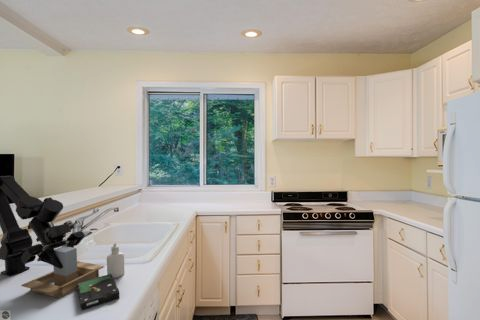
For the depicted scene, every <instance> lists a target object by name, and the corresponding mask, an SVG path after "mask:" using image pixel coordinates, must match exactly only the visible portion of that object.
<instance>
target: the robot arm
mask: <svg viewBox="0 0 480 320" xmlns="http://www.w3.org/2000/svg"><path fill="white" fill-rule="evenodd" d="M7 197H8V198H9V199H10V200H11V202H13V203H14V205H15V206H16V207H15V212H16V214H17V216H18V217H19V218H20V219H21V220H22V221H23V220H28V219H29V220H30V221H29V222H28V225H27V228H21V227H20V225H19V223H18V220H17V218H16V216H15V214H14V212H13V209H12V207H11V205H10V202H9V200H8V198H7ZM63 209H64V205H63V203H62V202H61V201H59V200H56V199H53V198H52V197H51V196H50V197H46V198H44V199H43V200H41V199H39V198H38V197H35V196H31V195H29V193H28V192H27V191H26V190H25V189H24V188H23V187H22V186H21V185H20V184H19V183H18V182H17V180H16V179H15V177H14V176H13V175H1V176H0V229H1V231H2V237H1V240H0V260H1V261H4V269H5V270H2V271H0V274H2V275H5V276H9V277H10V276H12V277H13V276H14V275H17V274H20V273H22V272H24V271H27V270H29V269H30V268H31V267H30V266H26V265H27V264H29V263H32V262H34V261H35V260H36V258H37V257H38V258H37V262H43V263H46V264H47V265H48V264H49V265H51V266H53V267H54V266H55V267H57V268H59V269H62V267H63V266H62V264H61V262H60V260H59V259H58V257H57V256H56V254H55V252H54V250H55V249H58V248H61V247H63V246H67V247H73V248H75V246H78V245H79V244H80V243H81V242H82V240H83V239H84V238H85V237H86V234H85V233H84V232H83V231H82V230H78V231H75V232H72V230H73V229H75V224H74V222H73V221H72V220H66V221H65V222H64V223H63V224H59V225H54V223H53V221H55V220H56V219H57V218H58V217H59V214H60V213H61V212H62V210H63ZM29 230H32V231H33V232H34V234H35V236H36V239H35V240H36V242H38V244H34V245H33V242H34V241H33V238H32V236H31V235H30V232H29ZM69 233H70V234H69ZM67 234H69V236H68V237H67V238H66V236H67ZM64 238H65V239H64Z"/></svg>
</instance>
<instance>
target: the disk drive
mask: <svg viewBox="0 0 480 320" xmlns="http://www.w3.org/2000/svg"><path fill="white" fill-rule="evenodd" d="M114 279H115V278H113V277H112V275H111V274H109V275H107V274H105V275H101V276H99V277H97V278H94V279H92V280H88V281H85V282H79V284H78V285H77V287H78V289H77V294H78V298H79V307H80V311H85V310H88V309H91V308H94V307H98V306H101V305H103V304H108V303H111V302H112V301H113V302H114V301H116V300H120V298H121V297H120V290H119V288H118V286H117V283H116V282H115V280H114Z"/></svg>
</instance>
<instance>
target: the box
mask: <svg viewBox="0 0 480 320" xmlns="http://www.w3.org/2000/svg"><path fill="white" fill-rule="evenodd" d="M54 252H55V254H56V256H57V257H58V259H59V260H60V262H61V264H62V266H63V267H62V269H59V268H57V267H55V266H53V271H54V281H53V282H54V283H53V285H56V286H62V285H64V284H66V283H68V282H70V281H72V280H74V279H76V278H78V276H79V275H78V274H77V261H78V258H77V257H78V253H77V252H78V250H77V247H74V248H73V247H67V246H63V247H62V246H61V247H58V248H55V249H54Z"/></svg>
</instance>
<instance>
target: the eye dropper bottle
mask: <svg viewBox="0 0 480 320" xmlns="http://www.w3.org/2000/svg"><path fill="white" fill-rule="evenodd" d="M110 251H111V253H109V254H108V255H107V256H106V273H107V274H106V275H109V274H111V275H112V277H113V279H115V278H119V277H122V276H124V275H125V273H126V272H125V270H126V269H125V255H124V254H125V253H123V252H121V251H120V246H119V245H117V243H116V242H113V245H112V246H111V250H110Z"/></svg>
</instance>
